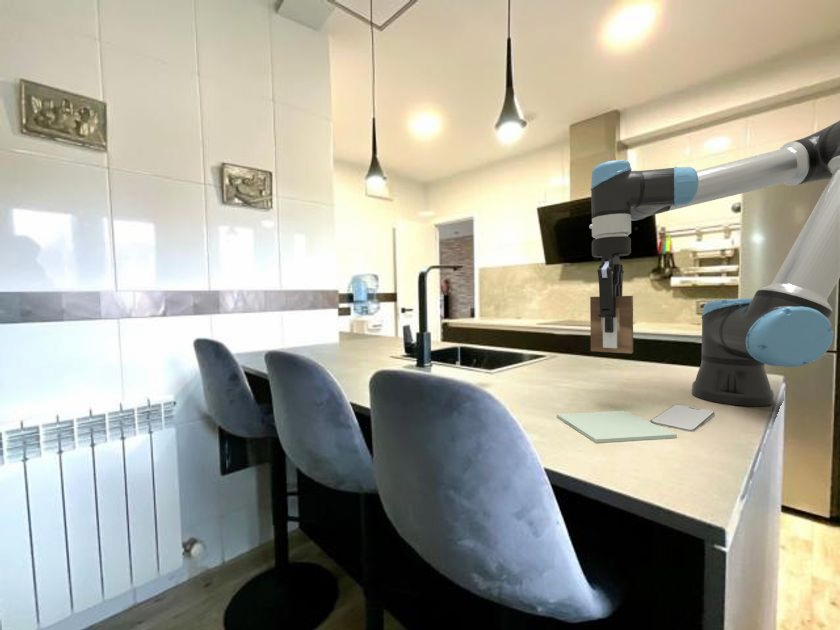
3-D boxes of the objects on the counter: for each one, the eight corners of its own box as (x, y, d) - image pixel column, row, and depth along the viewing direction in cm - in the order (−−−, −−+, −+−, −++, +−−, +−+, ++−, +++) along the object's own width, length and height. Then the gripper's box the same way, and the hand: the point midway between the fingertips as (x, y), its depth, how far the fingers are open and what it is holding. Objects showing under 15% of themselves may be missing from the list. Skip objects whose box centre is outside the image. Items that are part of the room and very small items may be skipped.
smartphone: (648, 421, 76) (674, 404, 85) (648, 426, 76) (674, 409, 85) (693, 430, 70) (715, 411, 80) (693, 437, 70) (715, 416, 80)
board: (593, 349, 88) (592, 296, 87) (633, 352, 83) (633, 295, 83) (590, 351, 86) (590, 296, 86) (631, 353, 81) (631, 295, 81)
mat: (624, 413, 82) (624, 410, 82) (676, 437, 68) (676, 434, 68) (556, 417, 80) (556, 414, 80) (595, 442, 66) (595, 439, 66)
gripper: (600, 242, 92) (601, 342, 93) (582, 236, 80) (583, 350, 81) (636, 239, 87) (637, 343, 88) (623, 231, 75) (623, 352, 76)
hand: (611, 346), depth 85 cm, fingers closed on board, 2 cm apart
